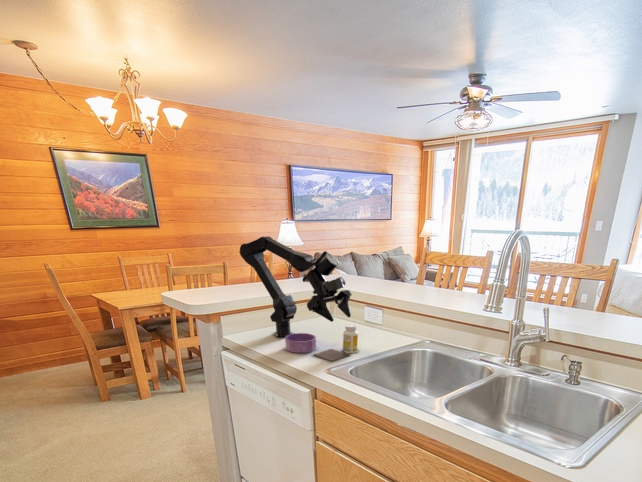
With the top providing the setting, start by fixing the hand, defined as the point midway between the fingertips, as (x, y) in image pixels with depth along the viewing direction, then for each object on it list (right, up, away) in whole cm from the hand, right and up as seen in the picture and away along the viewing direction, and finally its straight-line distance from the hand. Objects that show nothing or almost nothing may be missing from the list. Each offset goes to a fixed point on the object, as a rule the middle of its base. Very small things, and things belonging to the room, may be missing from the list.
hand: (341, 318), depth 149 cm
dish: (-15, -11, +3) cm, 19 cm away
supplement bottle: (+3, -12, +2) cm, 12 cm away
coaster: (-3, -14, -3) cm, 14 cm away
